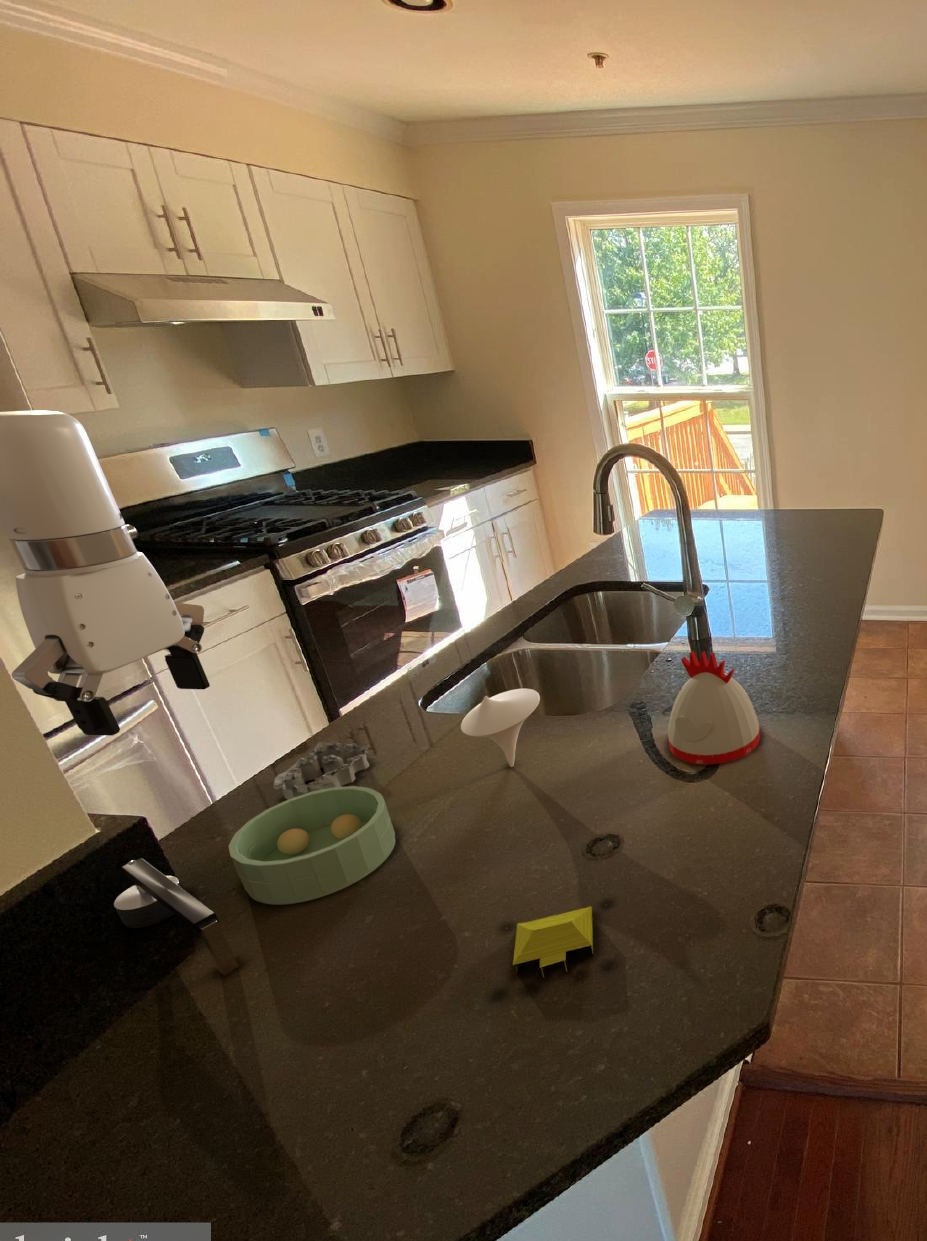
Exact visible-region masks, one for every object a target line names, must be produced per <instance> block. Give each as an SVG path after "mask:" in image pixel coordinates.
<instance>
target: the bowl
mask: <svg viewBox="0 0 927 1241" xmlns="http://www.w3.org/2000/svg"><path fill="white" fill-rule="evenodd" d="M345 814H352V815H355V816H357V817H358V818H359V819H360V821H361V829H359V830H358V831H357V832H355V833H354V834H353V835H351V836H349V837H347V838H345V839H338V838H336V837H335V836H334V835H333V834H332V832H331V825H332V823H333V821H334V820H335V819H336V818H338V817H339V816H342V815H345ZM295 828H298V829H302V830H304V831H306V832H307V833H308V834H309V837H310V842H309V844H308V846H307V848H306V849H305V850H303V851H302V852H300V853H298V854H293V855H288V854H284V853H282V852H281V851H280V850H279V849H278V846H277V841H278V839H279V837H280V836H281V834H282V833H284V832H285V831H287V830H290V829H295ZM396 840H397V839H396V832H395V829H394V826H393V823H392V820H391V817H390V813H389V810H388V806H387V803H386V801H385V799H384V797H383V795H382V793H380V792H378V791H377V790H375V789H372V788H371V787H366V786H365V787H364V786H357V785H348V786H341V787H333V788H328V789H323V790H318V791H313V792H310V793H307V794H304V795H300V796H297V797H294V798H291V799H289V800H287V799H286V800H284V801H282V802H280V803H277V804H276V805H274V806H271V807H269V808H267V809H265V810H264V811H262V812H261V813H259V814H257V815H255V816H254V817H253V818H251V819H250V820H248V821H247V822H246V823H245V824H243V826H242V827H240V828H239V829H238V830H237V831H236V832H235V833H234V835H233V836H232V838H231V839H230V842H229V844H228V852H229V856H230V859H231V862H232V864H233V865H234V868H235V869H236V873H237V875H238V876H239V879H240V882H241V884H242V887H243V888H244V891H245V892H246V893H247V895H248V896H249V897H250V898H251V899H252V900H254V901H256V902H258V903H259V902H260V903H262V904H267V905H280V906H281V905H292V904H298V903H304V902H308V901H313V900H315V899H319V898H322V897H325V896H329V895H331V894H333V893H336V892H338V891H341V890H343V889H345V888H347V887H349V886H352V885H353V884H355V883H357V882H359V881H360V880H362V879H364V878H365V877H366V876H368V875H369V874H371V873H372V872H374V871H375V870H376V869H377V868H378V867H380V866H381V865H382V864H383V863H384V862H385V861H386V860H387V859H388V858H389V856H390V855H391V853H392V852H393V850H394V848H395V845H396Z"/></svg>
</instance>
